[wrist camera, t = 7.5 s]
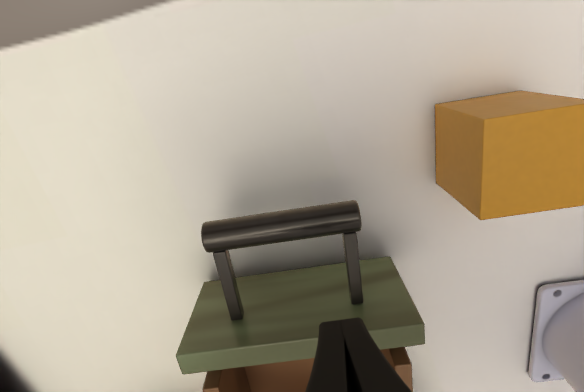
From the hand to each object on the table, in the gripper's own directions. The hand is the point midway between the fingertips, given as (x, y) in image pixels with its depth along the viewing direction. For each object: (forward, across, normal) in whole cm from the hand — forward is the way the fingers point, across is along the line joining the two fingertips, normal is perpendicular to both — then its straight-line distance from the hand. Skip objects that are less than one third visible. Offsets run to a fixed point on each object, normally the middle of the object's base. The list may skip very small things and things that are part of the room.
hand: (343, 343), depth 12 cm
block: (+10, -9, -3) cm, 14 cm away
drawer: (+9, +2, +7) cm, 11 cm away
